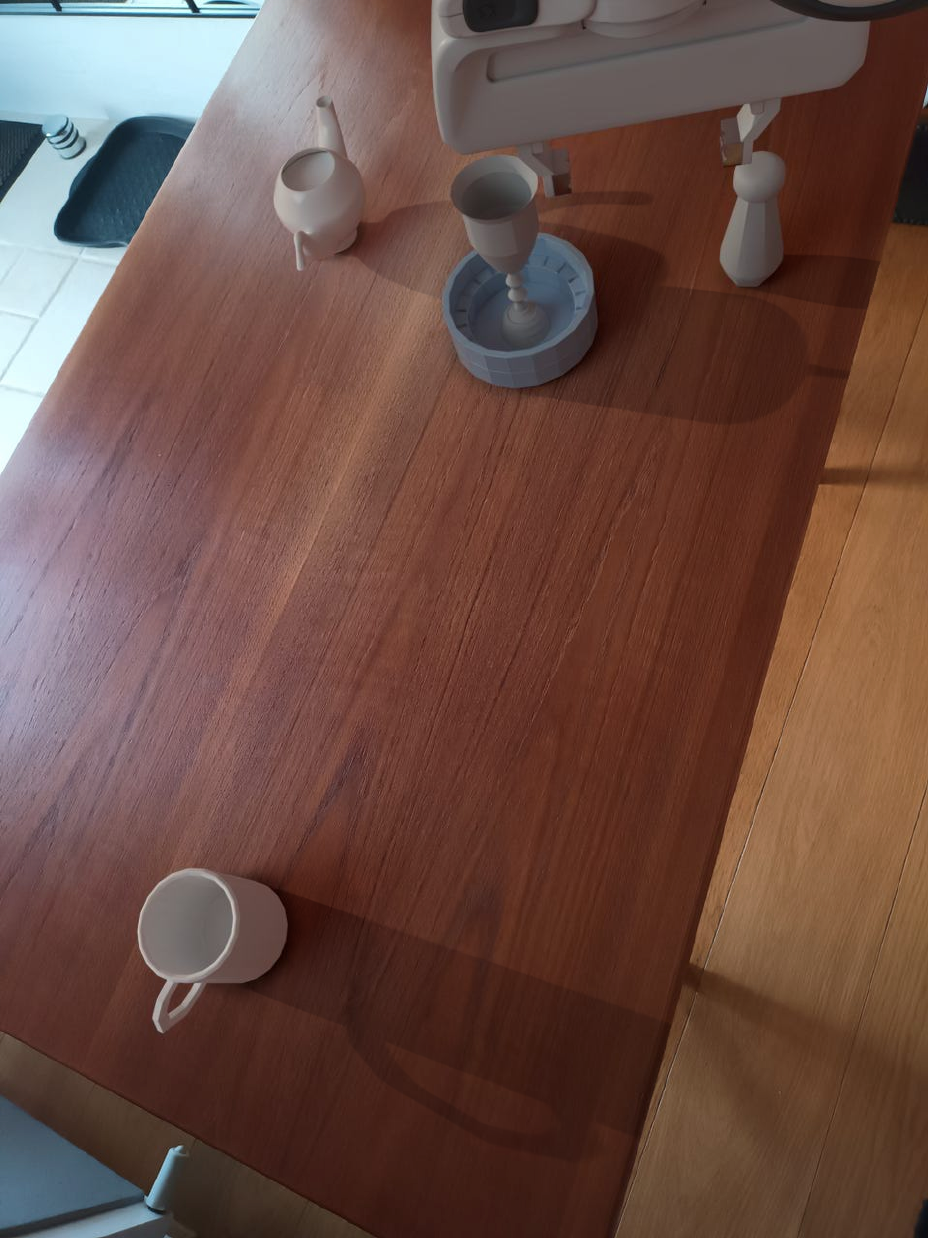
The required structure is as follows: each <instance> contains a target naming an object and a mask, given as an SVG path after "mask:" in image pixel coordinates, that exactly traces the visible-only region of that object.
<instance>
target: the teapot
mask: <svg viewBox="0 0 928 1238" xmlns="http://www.w3.org/2000/svg"><path fill="white" fill-rule="evenodd" d="M334 104H335V103H334V101H333V99H332V97H331V96H329V95H322V96H320V97H319V98H317V99H316V101H315V109H316V121H317V131H318V134H317V135H318V143H317V144H318V145H317V146H313V147H307V148H304V149H301V150H299V151H297V152H295V153H293V154H292V155H291V156H289V157H288V158H287V159H286V161H284V163H283V164H282V165H281V168H280V169H279V172H278V174H277V177H276V180H275V185H274V190H273V197H272V199H273V200H272V201H273V202H272V203H273V207H274V211H275V213H276V215H277V217H278V219H279V222H281V224H282V225H283V227H284V228H285V229H286V230H287V231H288V232H289V233H291V234H292V235H293V244H294V248H295V255H296V256H295V257H296V259H295V260H296V269H297V270H298V271H299V272H301V271H304V270H305V269H306V267H307V261H306V259H305V256H306V257H307V258H309V259H311V260H312V261H315V262H317V261H318V262H323V261H326V260H328V259H330V258H332V257H333V256H334V255H335V254H337V253H340V252H343V251H345V250H347V249H348V248H350V247H351V246H352V245H353V244H354V242H355V241H356V239H357V237H358V236H357V235H358V226H359V225H360V222H361V220H362V218H363V216H364V212H365V207H366V188H365V183H364V179H363V177H362V174H361V172H360V170H359V168H358V167H357V166H356V165H355V163H354V162H353V161H351V160H350V159H349V157H348V151H347V148H346V144H345V140H344V136H343V132H342V129H341V125H340V122H339V119H338V115H337V112H336V108H335V105H334Z"/></svg>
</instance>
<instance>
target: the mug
mask: <svg viewBox="0 0 928 1238" xmlns="http://www.w3.org/2000/svg"><path fill="white" fill-rule="evenodd" d="M288 923H289V922H288V919H287V913H286V909H285V905H284V904H283V903H282V901H281V899H280V897H279V895H277V893H275V892H274V891H273V889H271V888H270V887H269V886H268V885H266V884H263V883H261V882H259V881H256V880H253V879H249V878H244V877H240V876H237V875H231V874H229V873H223V872H219V871H216V870H213V869H212V870H211V869H207V868H200V867H199V868H198V867H196V868H195V867H188V868H185V869H181V870H178V871H175V872H172V873H171V874H169V875H168V876H167V877H165V878H164V879H161V881H159V882H158V883H157V885H155V887H154V888H153V889H152V890H151V892H150V893H149V894H148V896H147V897H146V900H145V902H144V904H143V906H142V908H141V911H140V913H139V918H138V925H137V939H138V940H137V941H138V948H139V951H140V952H141V955H142V957H143V959H144V962H145V965H147V966H148V967H149V968H150V969H151V970H152V971H153V972H154V973H155V974H156V976H157V977H160V978H162V979H164V980H166V982H165V984H164V986H163V987H162V989H161V991H160V992H159V995H158V996H157V999H156V1001H155V1005H154V1009H153V1012H152V1017H151V1019H152V1021H153V1023H154V1026H155V1028H156V1030H157V1032H158V1033H162V1034H165V1033H167V1031H169V1030H170V1029H171V1028H172V1027H174V1026H175V1025H177V1023H179V1022H180V1021H182V1020H183V1019H184V1018H186V1017H187V1015H188V1014H189V1013H190V1011H191V1010H192V1008H193V1007H194V1005H195V1004H196V1002H197V1001H198V999H199V998H200V996H201V995H202V993H203V991H204V989H205V987H206V985H207V984H243V983H244V984H245V983H247V982H250V981H254V980H256V979H258V978H259V977H261V976H263V975H264V974H265V973H267V972H268V971H270V970H271V968H272V967H273V966H274V965H275V963H276V962H277V961H278V960H279V958H280V957H281V954H282V951H283V950H284V948H285V945H286V942H287V935H288V926H289V924H288ZM180 983H181V984H193V985H192V986H191V989H190V991H189V992H188V993H187V994H186V996H185V998H184V999H183V1001H181V1004H179V1005H178V1006H177V1007H175V1008H174V1009H173V1010H171V1011H170V1012H169V1013H168V1010H169V1005H170V1002H171V999H172V996H173V994H174V992H175V990H176V989H177V987H178V985H179V984H180Z"/></svg>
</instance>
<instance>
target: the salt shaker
mask: <svg viewBox="0 0 928 1238" xmlns="http://www.w3.org/2000/svg"><path fill="white" fill-rule="evenodd" d="M786 172H787V171H786V164H785V162H784V160H783V159H782V157H781V156H779V155H777V154H776V153H774V152H772V151H766V150H759V151H753V153H752V162H751V164H745V165H739V166H735V168H734V171H733V179H732V183H733V184H732V187H733V190H734V192H735V194H736V195H737V198H736V201H735V204H734V207H733V210H732V213H731V215H730V219H729V222H728V225H727V228H726V230H725V233H724V237H723V240H722V243H721V244H720V245H721V246H720V252H719V263H720V265H721V267H722V269H723V270H724V273H725V274H726V275H727V277H728V278H729V279H730V280H731V281H732V282H733V283H734V284H735V285H736V286H737V288H740V287H744V288H746V287H747V288H750V287H751V288H752V287H753V288H754V287H759V286H760V285H761V284H763V283H764V282H765V281H766V280H767V279H769V278H770V276H772V275H773V274H774V273H775V272H776V270H777V269H778V268H779V266H780V265H781V263H782V262H783V259H784V239H783V234H782V226H781V219H780V213H779V212H780V211H779V206H778V197H777V196H778V195H779V194H780V192H781V190H782V189H783V188H784V186H785V182H786V174H787V173H786Z"/></svg>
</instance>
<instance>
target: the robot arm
mask: <svg viewBox="0 0 928 1238" xmlns="http://www.w3.org/2000/svg"><path fill="white" fill-rule="evenodd" d="M925 8H928V0H431V19H430V20H431V23H430V24H431V29H430V31H431V33H430V35H431V36H430V38H431V39H430V46H431V68H432V88H433V100H434V107H435V114H436V121H437V125H438V130H439V134H440V138H441V140H442V142H443V144H445V145H446V146H447V147H449V148H450V149H452V151H455V152H456V153H458V154H460V155H463V156H469V155H474V154H479V153H480V154H481V153H484V152H485V153H486V152H490V151H495V150H500V149H506V148H512V147H515V151H516V157H518V158H519V159H520V160H521V161H522V162H523V163H525V164H526V165H527V166H528V167H529V168H530V169H531V170H533V171H534V172H535V173H536V174H537V177H538V178H542V182H543V189H544V194H545V199H551V198H555V197H563V196H569V195H572V194H573V184H572V173H571V163H570V156H569V148H568V147H562V148H556V149H553V148H552V147H551V146H550V145H549V144H548V142H547V141H551V140H556V139H562V138H567V137H573V136H577V135H578V136H579V135H584V134H589V133H594V132H595V133H596V132H600V131H606V130H611V129H616V128H622V127H627V126H634V125H638V124H644V123H648V122H649V123H650V122H655V121H661V120H665V119H670V118H677V117H682V116H683V117H684V116H687V115H695V114H699V113H704V112H705V113H706V112H710V111H714V110H715V111H716V110H720V109H721V110H722V109H726V108H727V109H728V108H732V107H737V106H742V107H741V108H740V110H739V112H738V113H737V115H736V116H734V117H729V118H725V119H720V125H719V127H720V128H719V132H720V136H719V155H720V157H721V166H722V168H723V169H724V168H731V167H736V166H739V165H745V164H751V162H752V153H753V152H754V142H755V141H756V140H758V138H759V137H760V135H762V133H763V132H764V131H765V130H766V128H767V127H768V126H769V124H770V123H771V122H772V121H773V120H774V119H775V117H776V116H777V115H778V114H779V112H780V110H781V103H782V98H787V97H792V96H798V95H804V94H809V93H815V92H820V91H826V90H830V89H836V88H839V87H842V86H844V85H845V84H847V82H848V81H850V80H851V78H852V77H853V76H854V75H855V74H856V73H858V71H859V70H860V68H862V67H863V65H864V63H865V60H866V56H867V50H868V44H869V37H870V27H871V22H873V21H880V20H887V19H891V18H892V19H893V18H897V17H899V16H900V17H901V16H903V15H906V14H907V15H908V14H910V13H914V12H916V11H919V10H923V9H925Z"/></svg>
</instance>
